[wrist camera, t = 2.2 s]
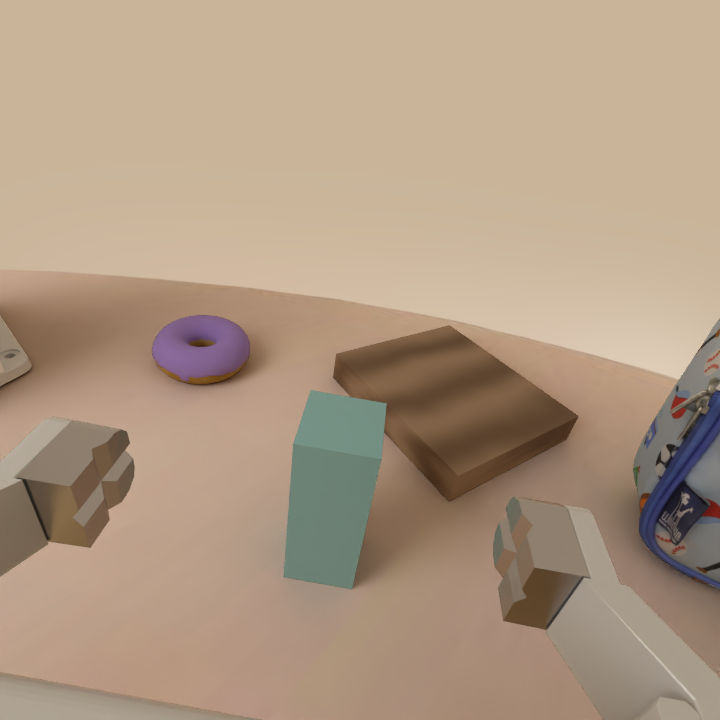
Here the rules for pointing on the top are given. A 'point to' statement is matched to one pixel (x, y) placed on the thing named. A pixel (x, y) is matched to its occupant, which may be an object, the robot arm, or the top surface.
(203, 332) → the donut
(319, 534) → the teal block
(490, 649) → the top surface
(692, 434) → the lunch box
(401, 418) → the walnut riser
